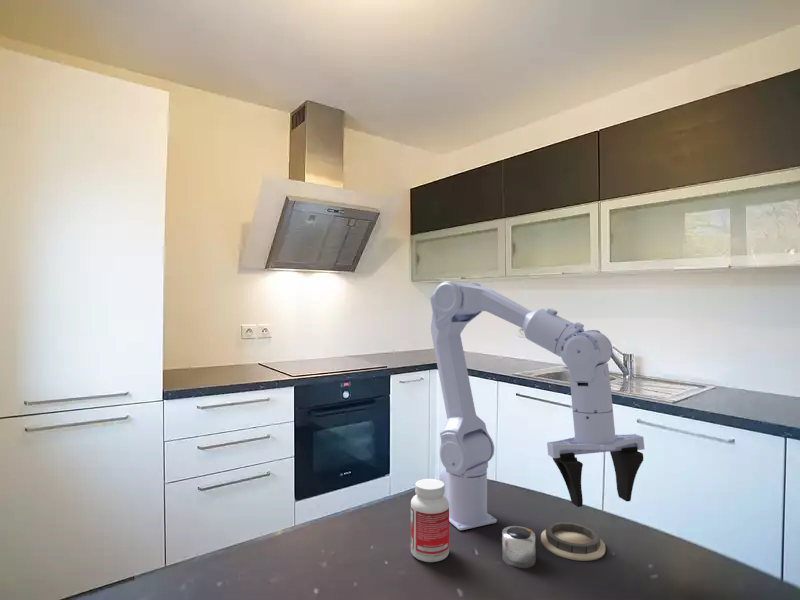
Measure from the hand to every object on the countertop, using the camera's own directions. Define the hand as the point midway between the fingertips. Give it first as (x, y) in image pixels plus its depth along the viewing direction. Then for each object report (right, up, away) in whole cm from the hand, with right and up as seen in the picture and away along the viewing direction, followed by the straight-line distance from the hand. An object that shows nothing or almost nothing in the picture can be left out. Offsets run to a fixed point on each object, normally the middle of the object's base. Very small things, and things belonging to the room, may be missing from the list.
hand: (600, 501), depth 69 cm
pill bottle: (-25, -10, +4) cm, 28 cm away
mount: (-2, -10, +7) cm, 13 cm away
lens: (-12, -10, +3) cm, 16 cm away
